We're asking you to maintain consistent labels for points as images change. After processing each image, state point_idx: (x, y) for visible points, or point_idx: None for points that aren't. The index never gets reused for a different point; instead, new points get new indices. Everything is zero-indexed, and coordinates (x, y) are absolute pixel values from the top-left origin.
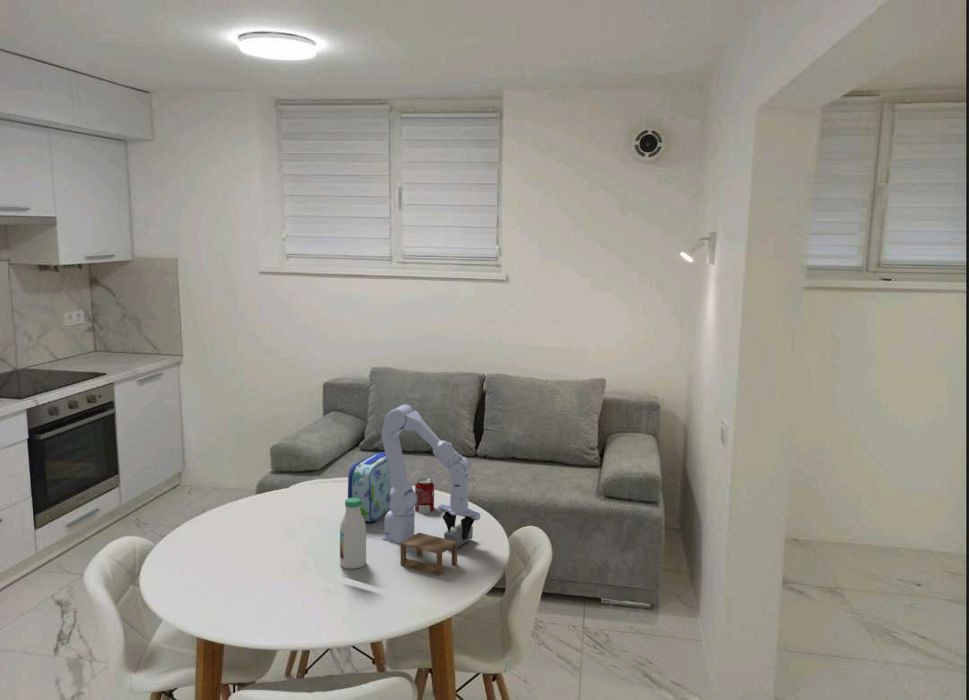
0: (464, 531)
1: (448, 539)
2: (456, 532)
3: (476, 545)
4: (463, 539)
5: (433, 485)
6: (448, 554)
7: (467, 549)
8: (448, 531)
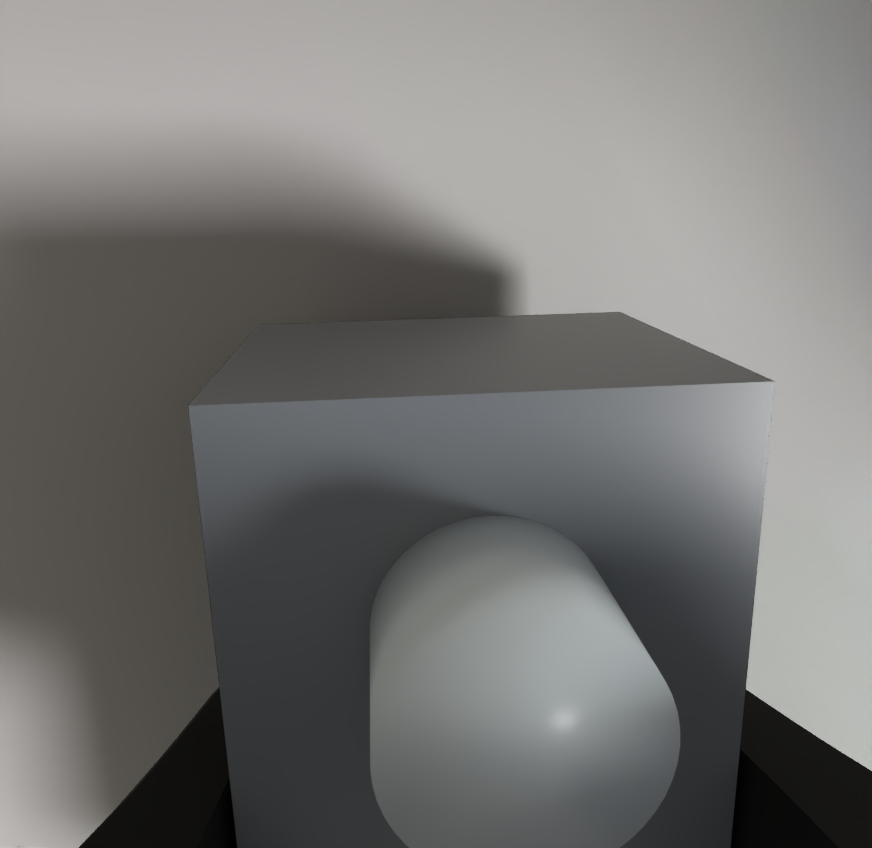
0: (106, 845)
1: (527, 346)
2: (368, 651)
3: None
4: None
5: None
6: (357, 126)
7: (185, 586)
8: (705, 590)
